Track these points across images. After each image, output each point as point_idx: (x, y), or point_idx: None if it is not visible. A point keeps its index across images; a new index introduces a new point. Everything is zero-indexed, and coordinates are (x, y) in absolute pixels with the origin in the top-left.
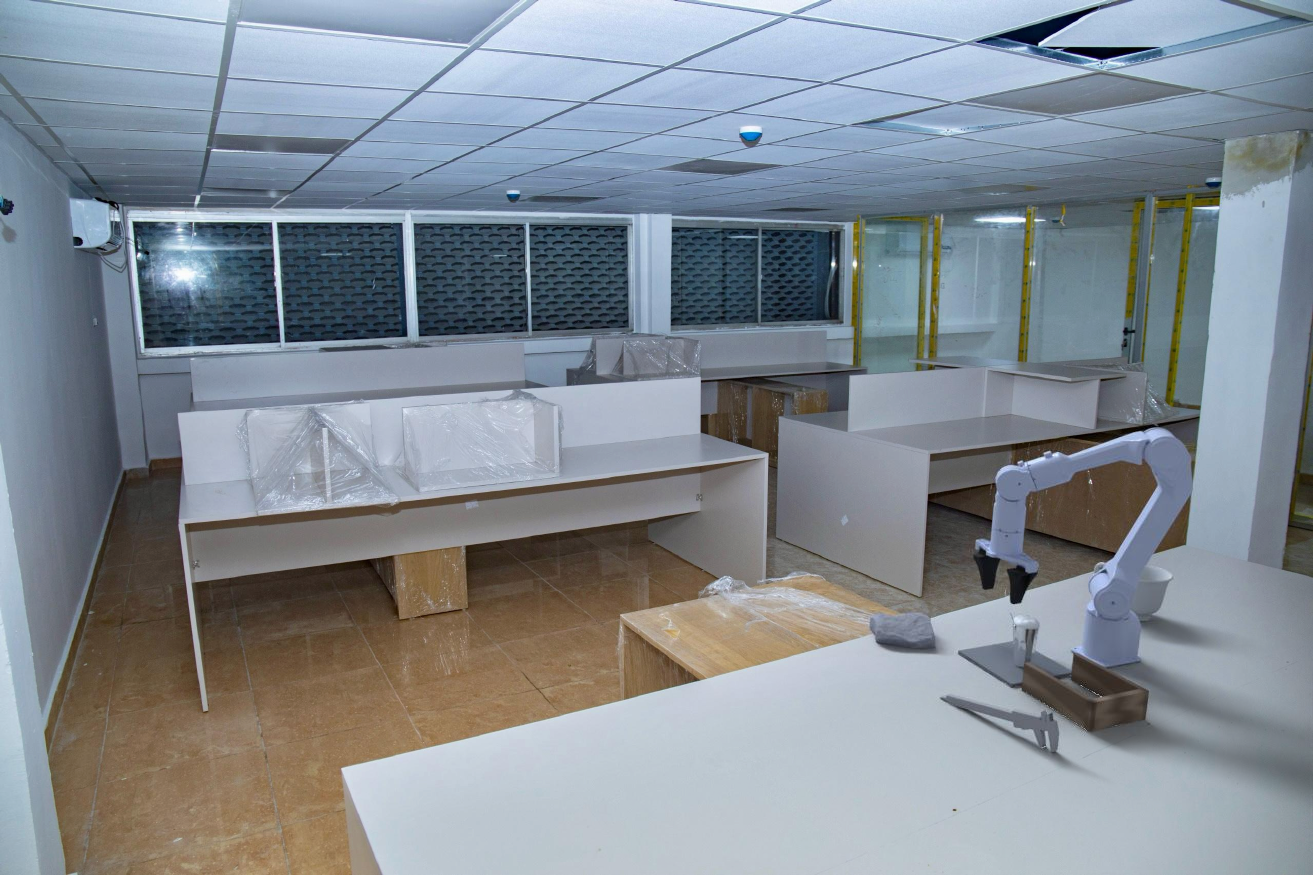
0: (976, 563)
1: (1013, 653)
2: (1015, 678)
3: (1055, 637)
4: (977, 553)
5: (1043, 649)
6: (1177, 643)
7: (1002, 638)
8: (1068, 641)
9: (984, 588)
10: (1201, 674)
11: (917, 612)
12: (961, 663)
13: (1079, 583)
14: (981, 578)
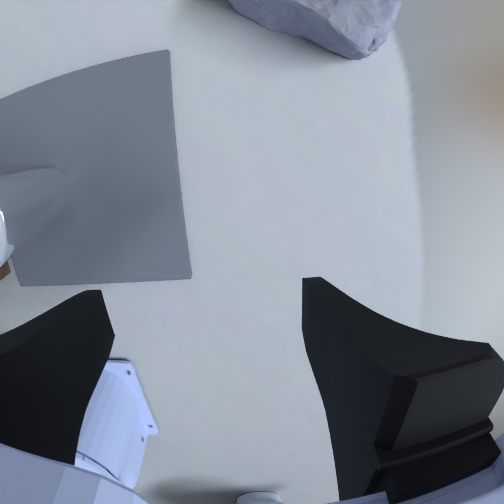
0: (429, 334)
1: (47, 174)
2: (2, 128)
3: (206, 379)
4: (486, 407)
5: (145, 314)
6: (156, 486)
7: (232, 256)
8: (181, 388)
9: (304, 279)
10: None
11: (390, 18)
12: (113, 33)
13: None
14: (340, 296)
